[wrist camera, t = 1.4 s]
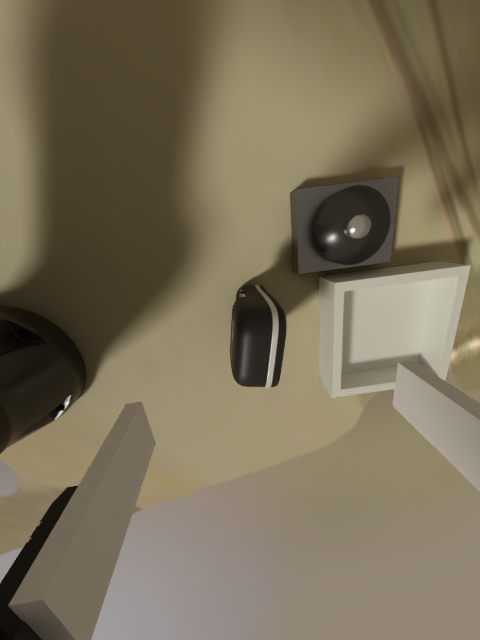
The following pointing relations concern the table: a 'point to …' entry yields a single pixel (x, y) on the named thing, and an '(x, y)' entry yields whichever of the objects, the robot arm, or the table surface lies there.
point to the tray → (387, 324)
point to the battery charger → (257, 338)
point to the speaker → (343, 225)
